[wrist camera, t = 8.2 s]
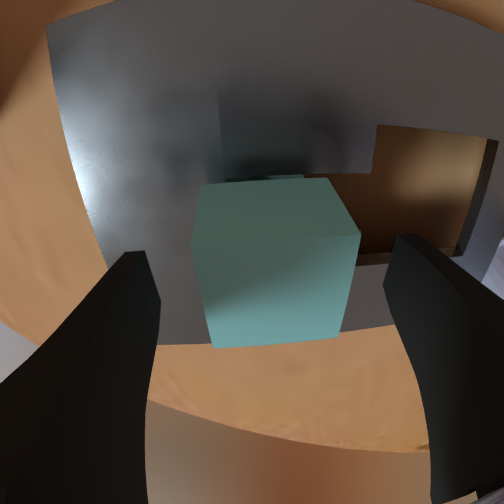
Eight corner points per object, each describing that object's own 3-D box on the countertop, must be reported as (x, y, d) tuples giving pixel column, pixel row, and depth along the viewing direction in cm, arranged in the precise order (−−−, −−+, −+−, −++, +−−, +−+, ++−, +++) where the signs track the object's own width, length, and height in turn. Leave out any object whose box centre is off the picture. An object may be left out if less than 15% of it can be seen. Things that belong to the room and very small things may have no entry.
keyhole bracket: (495, 44, 10) (545, 58, 7) (442, 271, 20) (466, 310, 17) (90, 24, 9) (46, 25, 6) (153, 296, 19) (143, 344, 16)
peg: (298, 134, 14) (361, 234, 7) (297, 209, 16) (337, 337, 10) (209, 139, 13) (190, 246, 7) (218, 214, 16) (213, 348, 10)
